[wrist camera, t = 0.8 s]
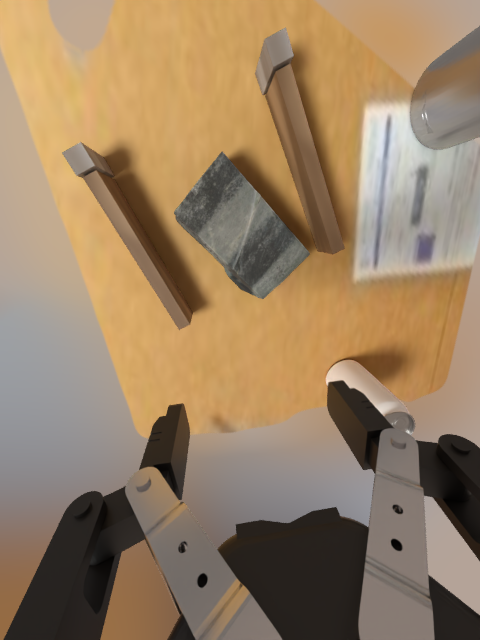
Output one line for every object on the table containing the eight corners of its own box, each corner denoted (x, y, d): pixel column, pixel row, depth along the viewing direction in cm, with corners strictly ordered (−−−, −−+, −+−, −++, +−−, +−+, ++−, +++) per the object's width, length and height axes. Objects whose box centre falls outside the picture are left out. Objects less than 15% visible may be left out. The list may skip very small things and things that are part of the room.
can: (369, 374, 41) (427, 429, 30) (338, 398, 42) (384, 459, 31) (348, 350, 39) (403, 399, 28) (317, 376, 40) (357, 433, 29)
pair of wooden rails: (272, 63, 26) (285, 27, 21) (329, 245, 33) (348, 247, 28) (87, 165, 27) (61, 152, 22) (181, 318, 34) (176, 332, 30)
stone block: (251, 297, 35) (257, 309, 30) (170, 221, 30) (162, 219, 25) (298, 250, 33) (312, 255, 28) (219, 161, 28) (221, 148, 24)
